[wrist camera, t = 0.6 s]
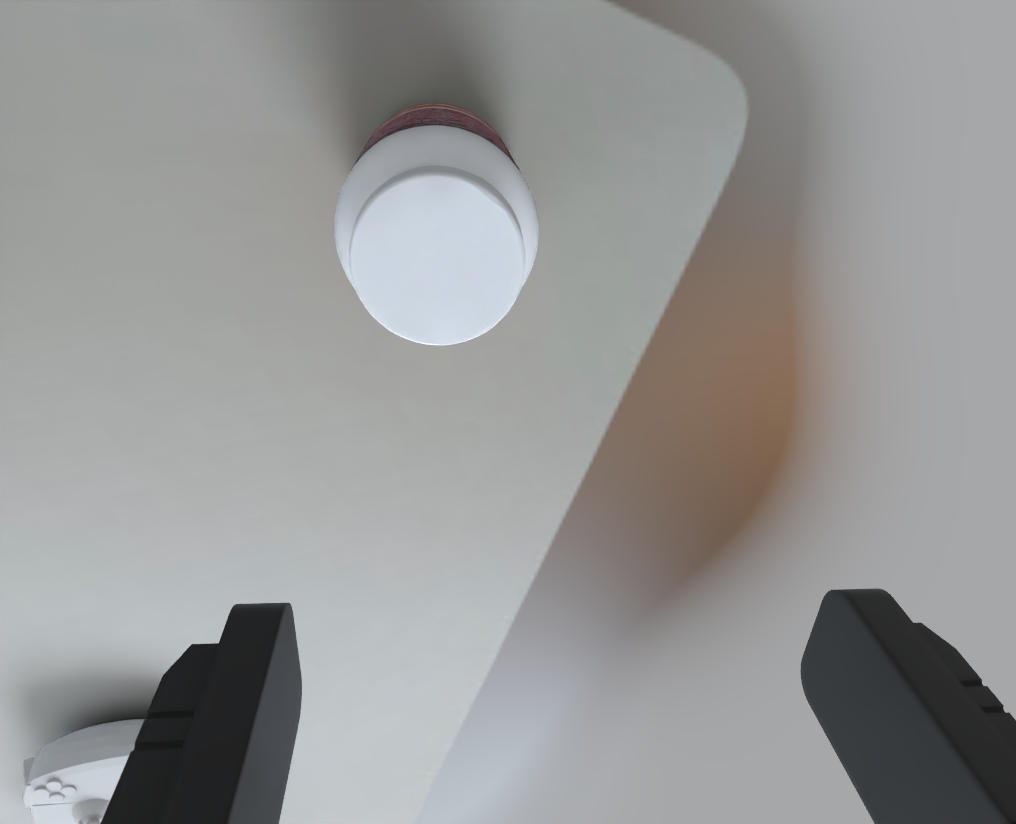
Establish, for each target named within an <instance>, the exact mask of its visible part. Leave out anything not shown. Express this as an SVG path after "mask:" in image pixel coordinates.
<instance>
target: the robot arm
mask: <svg viewBox="0 0 1016 824" xmlns="http://www.w3.org/2000/svg"><path fill="white" fill-rule="evenodd" d="M801 680H802V685H803V690H804V693H805V696H806V698H807V701H808V703H809V705H810V706H811V708H812V710H813V712H814V714H815V715H816V717H817V719H818V721H819V723H820V725H821V726H822V728H823V730H824V732H825V734H826V736H827V737H828V739H829V741H830V743H831V745H832V747H833V748H834V750H835V752H836V754H837V756H838V757H839V759H840V761H841V763H842V765H843V767H844V768H845V770H846V772H847V774H848V775H849V778H850V779H851V781H852V783H853V785H854V787H855V788H856V790H857V792H858V794H859V795H860V798H861V799H862V801H863V803H864V805H865V806H866V809H867V810H868V812H869V814H870V816H871V818H872V819H873V821H874V823H875V824H1016V720H1015V719H1014V718H1013V717H1012V716H1011V714H1010V713H1005V712H1004V710H1003V705H1002V704H1001V702H1000V701H999V700H998V699H997V698H996V696H995V695H994V694H993V693H992V692H991V690H990V689H989V688H988V687H987V686H983V685H982V680H981V678H979V676H978V675H977V673H976V672H975V671H974V670H973V669H972V668H971V666H970V665H969V664H968V663H967V661H966V660H965V659H964V658H963V657H962V655H961V654H960V653H959V652H958V651H957V650H956V649H955V648H954V647H952V646H951V645H950V644H949V643H947V642H946V641H945V640H943V639H942V638H941V637H939V636H938V635H937V634H935V633H934V632H932V631H931V630H930V629H929V628H927V627H926V626H925V625H923V624H922V623H913V622H912V621H911V620H910V618H909V617H908V616H907V615H906V613H905V612H904V611H903V610H902V608H901V607H900V606H899V605H898V603H897V602H896V601H895V600H894V598H893V597H892V596H891V595H890V594H889V593H888V592H886V591H884V590H882V589H850V590H849V589H847V590H831V591H829V592H828V593H826V595H825V596H824V598H823V600H822V603H821V606H820V609H819V612H818V615H817V617H816V620H815V623H814V626H813V629H812V632H811V634H810V637H809V640H808V643H807V646H806V649H805V652H804V654H803V658H802V662H801ZM301 697H302V679H301V670H300V662H299V655H298V648H297V640H296V633H295V625H294V618H293V611H292V607H291V604H290V603H261V604H236V605H234V606H233V608H232V609H231V611H230V614H229V616H228V619H227V622H226V625H225V628H224V630H223V633H222V636H221V639H220V642H219V644H192V645H191V646H190V647H189V648H188V649H187V650H186V651H185V652H184V653H183V655H182V656H181V657H180V658H179V659H178V660H177V661H176V662H175V663H174V664H173V665H172V666H171V668H170V669H169V670H168V671H167V672H166V673H165V674H164V675H163V677H162V679H161V681H160V684H159V686H158V689H157V691H156V693H155V696H154V698H153V700H152V703H151V705H150V707H149V710H148V716H147V719H146V720H144V722H143V724H142V726H141V729H140V731H139V734H138V736H137V738H136V741H135V747H134V750H133V751H131V752H130V755H129V757H128V760H127V762H126V764H125V767H124V769H123V771H122V774H121V776H120V778H119V781H118V783H117V786H116V788H115V790H114V793H113V795H112V797H111V800H110V802H109V804H108V807H107V809H106V812H105V814H104V816H103V819H102V821H101V823H100V824H279V819H280V814H281V809H282V804H283V799H284V794H285V789H286V784H287V779H288V774H289V769H290V764H291V759H292V754H293V749H294V744H295V739H296V734H297V729H298V724H299V718H300V710H301Z"/></svg>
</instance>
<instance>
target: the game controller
mask: <svg viewBox="0 0 1016 824" xmlns="http://www.w3.org/2000/svg"><path fill="white" fill-rule="evenodd" d="M144 720H146V719H133V720H123V721H116V722H110V723H104V724H99V725H95V726H91V727H87V728H84V729H81V730H78V731H74V732H72V733H70V734H67V735H65V736H62V737H60V738H58V739H56V740H54V741H53V742H51V743H49V744H47V745H46V746H44V747H42V748H41V749H40V750H39V751H38V752H37V754H36V756H35V757H33V758H30V759H27V760H24V761H23V771H24V782H25V791H24V794H23V801H24V806H25V808H30V810H31V814H32V819H33V823H34V824H100V823H101V821H102V819H103V816H104V814H105V812H106V809H107V807H108V804H109V802H110V800H111V797H112V795H113V793H114V790H115V788H116V786H117V783H118V781H119V778H120V776H121V774H122V771H123V769H124V767H125V764H126V762H127V760H128V757H129V755H130V752H131V751H133V750H134V747H135V741H136V738H137V736H138V734H139V731H140V729H141V726H142V724H143V722H144Z"/></svg>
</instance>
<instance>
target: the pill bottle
mask: <svg viewBox="0 0 1016 824" xmlns="http://www.w3.org/2000/svg"><path fill="white" fill-rule="evenodd" d="M334 234H335V242H336V249H337V252H338V256H339V259H340V262H341V264H342V267H343V269H344V272H345V274H346V275H347V277H348V279H349V281H350V282H351V284H352V285H353V287H354V288H355V290H356V292H357V294H358V296H359V298H360V300H361V301H362V303H363V305H364V306H365V308H366V309H367V310H368V311H369V313H370V314H371V315H372V316H373V317H374V318H375V319H376V320H377V321H378V322H379V323H380V324H381V325H383V326H384V327H385V328H387V329H388V330H390V331H391V332H393V333H395V334H396V335H398V336H400V337H402V338H405V339H408V340H410V341H413V342H417V343H421V344H427V345H451V344H457V343H461V342H464V341H468V340H471V339H473V338H476V337H478V336H480V335H482V334H483V333H485V332H487V331H488V330H490V329H491V328H492V327H494V326H495V325H496V324H497V323H498V322H499V321H500V320H501V319H502V318H503V317H504V316H505V315H506V314H507V313H508V311H509V310H510V308H511V307H512V305H513V304H514V302H515V301H516V299H517V297H518V294H519V292H520V290H521V288H522V286H523V285H524V283H525V282H526V280H527V278H528V276H529V274H530V272H531V269H532V266H533V264H534V261H535V256H536V253H537V247H538V235H539V228H538V216H537V211H536V206H535V203H534V199H533V197H532V194H531V192H530V189H529V187H528V185H527V183H526V181H525V179H524V177H523V176H522V174H521V172H520V170H519V168H518V166H517V165H516V164H515V162H514V160H513V158H512V157H511V155H510V153H509V151H508V150H507V148H506V146H505V144H504V143H503V141H502V140H501V138H500V137H499V136H498V134H497V133H496V132H495V131H494V130H493V129H492V128H491V127H490V126H489V125H487V124H486V123H485V122H484V121H483V120H481V119H480V118H478V117H477V116H475V115H473V114H472V113H470V112H468V111H466V110H463V109H461V108H458V107H455V106H451V105H445V104H424V105H418V106H414V107H411V108H408V109H406V110H403V111H401V112H399V113H398V114H396V115H394V116H393V117H391V118H390V119H388V120H387V121H386V122H385V123H383V124H382V125H381V126H380V127H379V128H378V130H377V131H376V132H375V133H374V134H373V136H372V137H371V139H370V140H369V142H368V143H367V145H366V146H365V148H364V150H363V151H362V153H361V154H360V156H359V158H358V159H357V161H356V163H355V164H354V166H353V167H352V169H351V171H350V173H349V174H348V176H347V178H346V180H345V182H344V184H343V186H342V189H341V191H340V194H339V198H338V201H337V205H336V210H335V220H334Z"/></svg>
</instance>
